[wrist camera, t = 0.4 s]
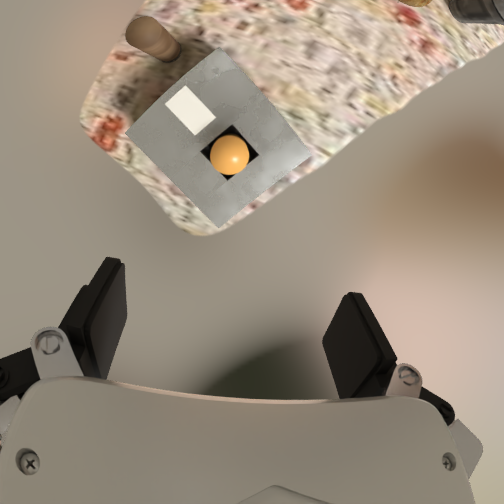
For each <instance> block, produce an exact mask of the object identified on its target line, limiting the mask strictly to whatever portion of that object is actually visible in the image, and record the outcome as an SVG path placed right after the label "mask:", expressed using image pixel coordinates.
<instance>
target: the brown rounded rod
mask: <svg viewBox="0 0 504 504" xmlns="http://www.w3.org/2000/svg"><path fill="white" fill-rule="evenodd" d="M125 37H126V40H127V42H128V43H129V44H130V45H131V46H133V47H135V48H137V49H140V50H141V51H143V52H145V53H147V54H149V55H151V56H153V57H155V58H157V59H159V60H161V61H163V62H172V61H174V60H176V59H177V58H178V57H179V56H180V54H181V46H180V44H179V43H178V42H177V41H176V40H175V39H174V38H173V37H172V36H171V35H170V34H169V33H168V32H167V31H166V29H165V28H164V27H163V26H162V25H161V24H160V23H159V22H158V21H157V20H156V19H154V18H152V17H148V16H144V17H140V18H137V19H136V20H134V21H133V22H132V23H131V24H130V25H129V26H128V28H127V30H126V34H125Z"/></svg>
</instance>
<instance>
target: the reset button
mask: <svg viewBox="0 0 504 504" xmlns="http://www.w3.org/2000/svg"><path fill="white" fill-rule="evenodd" d="M210 160H211V163H212V165H213V167H214V168H215V169H216V170H217V171H219V172H220V173H223V174H227V175H232V174H236V173H239V172H240V171H242V170H243V169H244V168H245V167H246V165H247V163H248V160H249V151H248V148H247V145H246V143H245V141H244V140H243V139H242V138H241V137H240V136H239V135H236V134H232V133H228V134H224V135H221V136H220V137H218V138H217V140H216V141H215V142H214V145H213V147H212V149H211V153H210Z"/></svg>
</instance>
